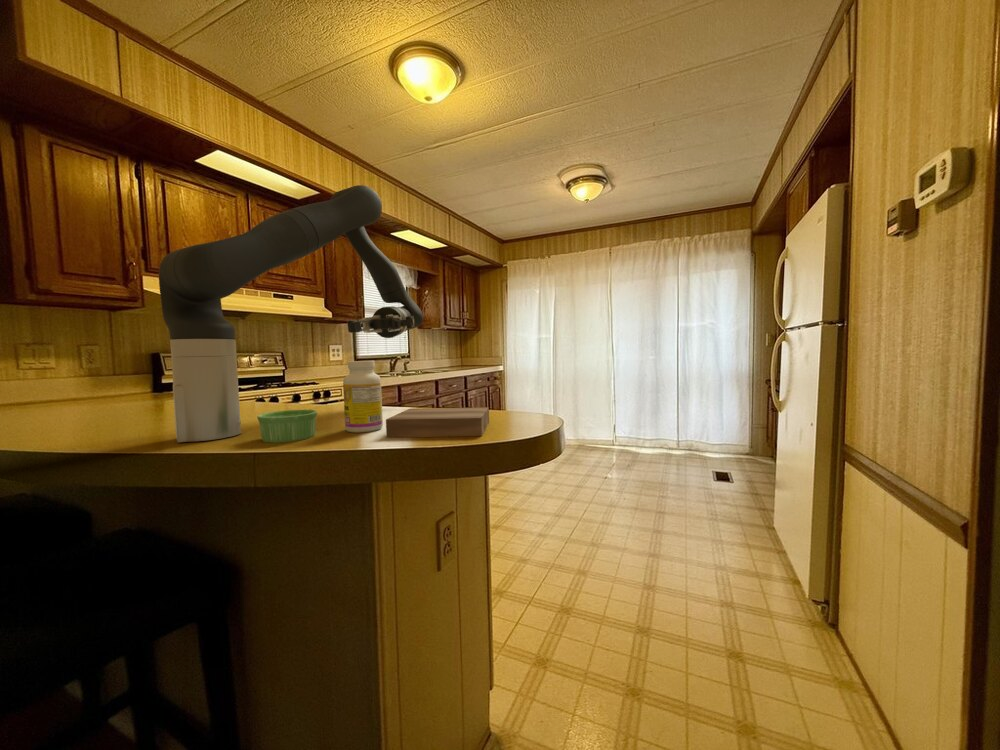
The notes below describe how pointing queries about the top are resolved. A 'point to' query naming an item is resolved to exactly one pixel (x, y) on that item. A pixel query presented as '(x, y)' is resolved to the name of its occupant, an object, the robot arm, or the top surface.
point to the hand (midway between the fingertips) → (373, 326)
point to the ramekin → (287, 425)
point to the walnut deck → (438, 422)
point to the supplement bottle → (362, 398)
